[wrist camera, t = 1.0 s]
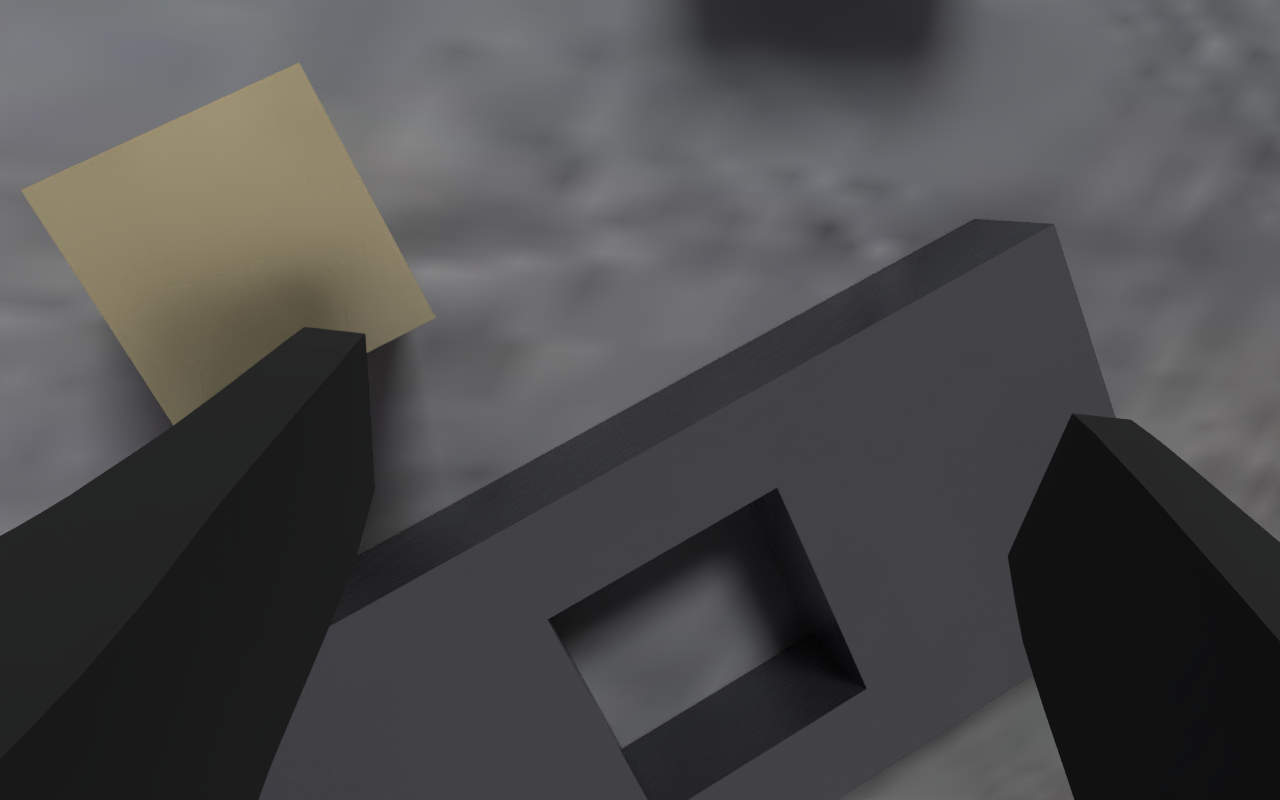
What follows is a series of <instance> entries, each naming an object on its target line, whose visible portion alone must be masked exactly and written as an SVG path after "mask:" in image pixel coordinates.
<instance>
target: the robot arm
mask: <svg viewBox="0 0 1280 800" xmlns="http://www.w3.org/2000/svg"><path fill="white" fill-rule="evenodd" d="M374 488H375V486H374V469H373V452H372V435H371V418H370V402H369V385H368V368H367V351H366V334H365V333H356V332H347V331H338V330H329V329H320V328H311V327H304V328H302V329H301V330H299V331H298V332H297V333H295V334H294V335H292V336H291V337H290V338H288V339H287V340H286V341H284V342H283V343H282V344H281V345H279V346H278V347H277V348H275V349H274V350H273V351H271V352H270V353H269V354H267V355H266V356H265V357H263V358H262V359H261V360H260V361H258V362H257V363H256V364H254V365H253V366H252V367H250V368H249V369H248V370H247V371H245V372H244V373H243V374H241V375H240V376H239V377H237V378H236V379H235V380H234V381H232V382H231V383H230V384H228V385H227V386H226V387H224V388H223V389H222V390H220V391H219V392H218V393H217V394H215V395H214V396H213V397H211V398H210V399H209V400H207V401H206V402H205V403H203V404H202V405H201V406H199V407H198V408H196V409H195V410H194V411H192V412H191V413H190V414H188V415H187V416H186V417H184V418H183V419H181V420H180V421H179V422H177V423H176V424H175V425H173V426H172V427H171V428H169V429H168V430H166V431H165V432H164V433H162V434H161V435H160V436H158V437H157V438H155V439H154V440H152V441H151V442H149V443H148V444H146V445H145V446H143V447H142V448H140V449H139V450H137V451H136V452H134V453H133V454H131V455H130V456H128V457H127V458H125V459H124V460H122V461H121V462H119V463H118V464H116V465H115V466H113V467H112V468H110V469H109V470H107V471H106V472H104V473H103V474H101V475H100V476H98V477H97V478H95V479H94V480H92V481H91V482H89V483H88V484H86V485H85V486H83V487H82V488H80V489H79V490H77V491H76V492H74V493H73V494H71V495H70V496H68V497H66V498H65V499H63V500H61V501H60V502H58V503H56V504H55V505H53V506H52V507H50V508H48V509H47V510H45V511H43V512H42V513H40V514H38V515H36V516H35V517H33V518H31V519H30V520H28V521H26V522H24V523H23V524H21V525H19V526H18V527H16V528H14V529H12V530H10V531H9V532H7V533H5V534H3V535H1V536H0V800H259V797H260V794H261V792H262V789H263V786H264V783H265V781H266V778H267V775H268V773H269V770H270V767H271V765H272V762H273V759H274V757H275V755H276V752H277V750H278V748H279V745H280V743H281V740H282V738H283V736H284V733H285V731H286V729H287V726H288V724H289V721H290V719H291V717H292V714H293V712H294V710H295V707H296V705H297V702H298V700H299V698H300V695H301V693H302V691H303V688H304V686H305V683H306V681H307V679H308V676H309V674H310V672H311V669H312V667H313V664H314V662H315V660H316V657H317V655H318V653H319V650H320V648H321V645H322V643H323V641H324V638H325V636H326V633H327V631H328V629H329V626H330V624H331V621H332V619H333V617H334V614H335V612H336V609H337V607H338V604H339V602H340V600H341V597H342V595H343V592H344V590H345V587H346V585H347V582H348V580H349V577H350V575H351V572H352V569H353V566H354V562H355V558H356V555H357V551H358V548H359V544H360V541H361V537H362V534H363V530H364V526H365V522H366V518H367V515H368V511H369V507H370V503H371V499H372V495H373V492H374ZM1008 561H1009V568H1010V574H1011V580H1012V587H1013V593H1014V599H1015V605H1016V610H1017V615H1018V620H1019V625H1020V631H1021V636H1022V641H1023V645H1024V648H1025V651H1026V654H1027V658H1028V661H1029V664H1030V667H1031V670H1032V673H1033V676H1034V680H1035V683H1036V686H1037V689H1038V692H1039V695H1040V698H1041V701H1042V704H1043V707H1044V710H1045V713H1046V716H1047V719H1048V722H1049V725H1050V728H1051V731H1052V734H1053V737H1054V740H1055V743H1056V746H1057V749H1058V752H1059V755H1060V758H1061V761H1062V764H1063V767H1064V770H1065V773H1066V776H1067V779H1068V782H1069V785H1070V788H1071V791H1072V794H1073V797H1074V800H1280V542H1279V541H1278V540H1276V539H1275V538H1274V537H1273V536H1272V535H1270V534H1269V533H1268V532H1267V531H1266V530H1265V529H1263V528H1262V527H1261V526H1260V525H1259V524H1257V523H1256V522H1255V521H1254V520H1253V519H1252V518H1250V517H1249V516H1248V515H1247V514H1246V513H1244V512H1243V511H1242V510H1241V509H1240V508H1239V507H1237V506H1236V505H1235V504H1234V503H1233V502H1232V501H1230V500H1229V499H1228V498H1227V497H1226V496H1225V495H1223V494H1222V493H1221V492H1220V491H1219V490H1218V489H1216V488H1215V487H1214V486H1213V485H1212V484H1211V483H1209V482H1208V481H1207V480H1206V479H1205V478H1203V477H1202V476H1201V475H1200V474H1199V473H1198V472H1196V471H1195V470H1194V469H1193V468H1192V467H1190V466H1189V465H1188V464H1187V463H1186V462H1184V461H1183V460H1182V459H1181V458H1180V457H1178V456H1177V455H1176V454H1175V453H1174V452H1172V451H1171V450H1170V449H1169V448H1167V447H1166V446H1165V445H1164V444H1163V443H1161V442H1160V441H1159V440H1157V439H1156V438H1155V437H1154V436H1152V435H1151V434H1150V433H1148V432H1147V431H1146V430H1144V429H1143V428H1141V427H1140V426H1139V425H1137V424H1136V423H1135V422H1133V421H1132V420H1128V419H1119V418H1110V417H1101V416H1093V415H1084V414H1075V413H1072V414H1071V417H1070V419H1069V421H1068V423H1067V426H1066V428H1065V430H1064V432H1063V434H1062V437H1061V439H1060V441H1059V443H1058V445H1057V448H1056V450H1055V452H1054V454H1053V456H1052V459H1051V461H1050V463H1049V465H1048V467H1047V470H1046V472H1045V474H1044V476H1043V479H1042V481H1041V483H1040V485H1039V487H1038V490H1037V492H1036V494H1035V496H1034V498H1033V501H1032V503H1031V505H1030V507H1029V509H1028V512H1027V514H1026V516H1025V518H1024V520H1023V523H1022V525H1021V527H1020V529H1019V532H1018V534H1017V536H1016V538H1015V540H1014V543H1013V545H1012V547H1011V549H1010V551H1009V554H1008Z"/></svg>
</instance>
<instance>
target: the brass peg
mask: <svg viewBox="0 0 1280 800" xmlns="http://www.w3.org/2000/svg"><path fill="white" fill-rule="evenodd" d="M21 191H22V193H23V194H24V196H25V197H26V199H27V200H28V202H29V203H30V205H31V206H32V208H33V210H34V211H35V213H36V214H37V216H38V217H39V219H40V220H41V222H42V223H43V225H44V227H45V228H46V230H47V231H48V233H49V234H50V236H51V237H52V239H53V240H54V242H55V243H56V245H57V247H58V248H59V250H60V251H61V253H62V254H63V256H64V257H65V259H66V260H67V262H68V264H69V265H70V267H71V268H72V270H73V271H74V273H75V274H76V276H77V277H78V279H79V281H80V282H81V284H82V285H83V287H84V288H85V290H86V291H87V293H88V294H89V296H90V298H91V299H92V301H93V302H94V304H95V305H96V307H97V308H98V310H99V311H100V313H101V315H102V316H103V318H104V319H105V321H106V322H107V324H108V325H109V327H110V328H111V330H112V331H113V333H114V335H115V336H116V338H117V339H118V341H119V342H120V344H121V345H122V347H123V348H124V350H125V352H126V353H127V355H128V356H129V358H130V359H131V361H132V362H133V364H134V365H135V367H136V369H137V370H138V372H139V373H140V375H141V376H142V378H143V379H144V381H145V382H146V384H147V386H148V387H149V389H150V390H151V392H152V393H153V395H154V396H155V398H156V399H157V401H158V403H159V404H160V406H161V407H162V409H163V410H164V412H165V413H166V415H167V416H168V418H169V419H170V421H171V423H172V424H173V425H175V424H176V423H177V422H179V421H180V420H181V419H183V418H184V417H186V416H187V415H188V414H190V413H191V412H192V411H194V410H195V409H196V408H198V407H199V406H201V405H202V404H203V403H205V402H206V401H207V400H209V399H210V398H211V397H213V396H214V395H215V394H217V393H218V392H219V391H220V390H222V389H223V388H224V387H226V386H227V385H228V384H230V383H231V382H232V381H234V380H235V379H236V378H237V377H239V376H240V375H241V374H243V373H244V372H245V371H247V370H248V369H249V368H250V367H252V366H253V365H254V364H256V363H257V362H258V361H260V360H261V359H262V358H263V357H265V356H266V355H267V354H269V353H270V352H271V351H273V350H274V349H275V348H277V347H278V346H279V345H281V344H282V343H283V342H284V341H286V340H287V339H288V338H290V337H291V336H292V335H294V334H295V333H297V332H298V331H299V330H301V329H302V328H304V327H311V328H320V329H329V330H338V331H347V332H356V333H365V334H366V351H367V353H368V352H370V351H372V350H374V349H376V348H378V347H380V346H382V345H384V344H386V343H388V342H390V341H392V340H393V339H395V338H397V337H399V336H401V335H403V334H405V333H407V332H409V331H411V330H413V329H415V328H417V327H419V326H421V325H423V324H425V323H427V322H429V321H431V320H432V319H434V318H436V317H435V315H434V314H433V312H432V310H431V308H430V306H429V304H428V302H427V301H426V299H425V297H424V295H423V293H422V291H421V289H420V287H419V286H418V284H417V282H416V280H415V278H414V276H413V274H412V273H411V271H410V269H409V267H408V265H407V263H406V261H405V259H404V258H403V256H402V254H401V252H400V250H399V248H398V246H397V245H396V243H395V241H394V239H393V237H392V235H391V233H390V232H389V230H388V228H387V226H386V224H385V222H384V220H383V218H382V217H381V215H380V213H379V211H378V209H377V207H376V205H375V204H374V202H373V200H372V198H371V196H370V194H369V192H368V190H367V189H366V187H365V185H364V183H363V181H362V179H361V177H360V176H359V174H358V172H357V170H356V168H355V166H354V164H353V162H352V161H351V159H350V157H349V155H348V153H347V151H346V149H345V148H344V146H343V144H342V142H341V140H340V138H339V136H338V134H337V133H336V131H335V129H334V127H333V125H332V123H331V121H330V120H329V118H328V116H327V114H326V112H325V110H324V108H323V106H322V105H321V103H320V101H319V99H318V97H317V95H316V93H315V92H314V90H313V88H312V86H311V84H310V82H309V80H308V78H307V77H306V75H305V73H304V71H303V69H302V67H301V65H300V64H299V63H297V64H295V65H293V66H291V67H289V68H286V69H284V70H282V71H280V72H278V73H275V74H273V75H271V76H269V77H267V78H265V79H262V80H260V81H258V82H256V83H254V84H251V85H249V86H247V87H245V88H243V89H241V90H238V91H236V92H234V93H232V94H230V95H227V96H225V97H223V98H221V99H219V100H217V101H214V102H212V103H210V104H208V105H206V106H203V107H201V108H199V109H197V110H195V111H193V112H190V113H188V114H186V115H184V116H182V117H179V118H177V119H175V120H173V121H171V122H169V123H166V124H164V125H162V126H160V127H158V128H155V129H153V130H151V131H149V132H147V133H145V134H142V135H140V136H138V137H136V138H134V139H131V140H129V141H127V142H125V143H123V144H121V145H118V146H116V147H114V148H112V149H110V150H107V151H105V152H103V153H101V154H99V155H97V156H94V157H92V158H90V159H88V160H86V161H83V162H81V163H79V164H77V165H75V166H73V167H70V168H68V169H66V170H64V171H62V172H59V173H57V174H55V175H53V176H51V177H49V178H46V179H44V180H42V181H40V182H38V183H35V184H33V185H31V186H29V187H27V188H25V189H22V190H21Z"/></svg>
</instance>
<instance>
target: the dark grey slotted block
mask: <svg viewBox="0 0 1280 800" xmlns="http://www.w3.org/2000/svg"><path fill="white" fill-rule="evenodd" d="M1072 413H1075V414H1084V415H1093V416H1101V417H1110V418H1115V414H1114V411H1113V408H1112V405H1111V402H1110V399H1109V396H1108V392H1107V389H1106V386H1105V383H1104V380H1103V377H1102V373H1101V370H1100V367H1099V364H1098V361H1097V358H1096V355H1095V351H1094V348H1093V345H1092V342H1091V339H1090V336H1089V332H1088V329H1087V326H1086V323H1085V320H1084V317H1083V314H1082V310H1081V307H1080V304H1079V301H1078V298H1077V295H1076V291H1075V288H1074V285H1073V282H1072V279H1071V276H1070V273H1069V269H1068V266H1067V263H1066V260H1065V257H1064V254H1063V250H1062V247H1061V244H1060V241H1059V238H1058V235H1057V232H1056V228H1055V225H1054V224H1045V223H1029V222H1013V221H997V220H981V219H974V220H972V221H970V222H968V223H967V224H965V225H963V226H961V227H959V228H957V229H956V230H954V231H952V232H950V233H948V234H946V235H945V236H943V237H941V238H939V239H937V240H935V241H934V242H932V243H930V244H928V245H926V246H924V247H923V248H921V249H919V250H917V251H915V252H913V253H912V254H910V255H908V256H906V257H904V258H902V259H901V260H899V261H897V262H895V263H893V264H891V265H890V266H888V267H886V268H884V269H882V270H881V271H879V272H877V273H875V274H873V275H871V276H870V277H868V278H866V279H864V280H862V281H860V282H859V283H857V284H855V285H853V286H851V287H849V288H848V289H846V290H844V291H842V292H840V293H838V294H837V295H835V296H833V297H831V298H829V299H827V300H826V301H824V302H822V303H820V304H818V305H816V306H815V307H813V308H811V309H809V310H807V311H805V312H804V313H802V314H800V315H798V316H796V317H794V318H793V319H791V320H789V321H787V322H785V323H783V324H782V325H780V326H778V327H776V328H774V329H772V330H771V331H769V332H767V333H765V334H763V335H761V336H760V337H758V338H756V339H754V340H752V341H750V342H749V343H747V344H745V345H743V346H741V347H739V348H738V349H736V350H734V351H732V352H730V353H728V354H727V355H725V356H723V357H721V358H719V359H717V360H716V361H714V362H712V363H710V364H708V365H707V366H705V367H703V368H701V369H699V370H697V371H696V372H694V373H692V374H690V375H688V376H686V377H685V378H683V379H681V380H679V381H677V382H675V383H674V384H672V385H670V386H668V387H666V388H664V389H663V390H661V391H659V392H657V393H655V394H653V395H652V396H650V397H648V398H646V399H644V400H642V401H641V402H639V403H637V404H635V405H633V406H631V407H630V408H628V409H626V410H624V411H622V412H620V413H619V414H617V415H615V416H613V417H611V418H609V419H608V420H606V421H604V422H602V423H600V424H598V425H597V426H595V427H593V428H591V429H589V430H587V431H586V432H584V433H582V434H580V435H578V436H576V437H575V438H573V439H571V440H569V441H567V442H565V443H564V444H562V445H560V446H558V447H556V448H554V449H553V450H551V451H549V452H547V453H545V454H543V455H542V456H540V457H538V458H536V459H534V460H533V461H531V462H529V463H527V464H525V465H523V466H522V467H520V468H518V469H516V470H514V471H512V472H511V473H509V474H507V475H505V476H503V477H501V478H500V479H498V480H496V481H494V482H492V483H490V484H489V485H487V486H485V487H483V488H481V489H479V490H478V491H476V492H474V493H472V494H470V495H468V496H467V497H465V498H463V499H461V500H459V501H457V502H456V503H454V504H452V505H450V506H448V507H446V508H445V509H443V510H441V511H439V512H437V513H435V514H434V515H432V516H430V517H428V518H426V519H424V520H423V521H421V522H419V523H417V524H415V525H413V526H412V527H410V528H408V529H406V530H404V531H402V532H401V533H399V534H397V535H395V536H393V537H391V538H390V539H388V540H386V541H384V542H382V543H380V544H379V545H377V546H375V547H373V548H371V549H370V550H368V551H366V552H364V553H362V554H360V555H359V556H357V557H356V558H355V562H354V566H353V569H352V572H351V575H350V577H349V580H348V582H347V585H346V587H345V590H344V592H343V595H342V597H341V600H340V602H339V604H338V607H337V609H336V612H335V614H334V617H333V619H332V621H331V624H330V626H329V629H328V631H327V633H326V636H325V638H324V641H323V643H322V645H321V648H320V650H319V653H318V655H317V657H316V660H315V662H314V664H313V667H312V669H311V672H310V674H309V676H308V679H307V681H306V683H305V686H304V688H303V691H302V693H301V695H300V698H299V700H298V702H297V705H296V707H295V710H294V712H293V714H292V717H291V719H290V721H289V724H288V726H287V729H286V731H285V733H284V736H283V738H282V740H281V743H280V745H279V748H278V750H277V752H276V755H275V757H274V759H273V762H272V765H271V767H270V770H269V773H268V775H267V778H266V781H265V783H264V786H263V789H262V792H261V794H260V797H259V800H837V799H838V798H840V797H842V796H843V795H845V794H846V793H848V792H849V791H851V790H853V789H854V788H856V787H857V786H859V785H860V784H862V783H864V782H865V781H867V780H868V779H870V778H871V777H873V776H874V775H876V774H878V773H879V772H881V771H882V770H884V769H885V768H887V767H889V766H890V765H892V764H893V763H895V762H896V761H898V760H900V759H901V758H903V757H904V756H906V755H907V754H909V753H911V752H912V751H914V750H915V749H917V748H918V747H920V746H921V745H923V744H925V743H926V742H928V741H929V740H931V739H932V738H934V737H936V736H937V735H939V734H940V733H942V732H943V731H945V730H947V729H948V728H950V727H951V726H953V725H954V724H956V723H957V722H959V721H961V720H962V719H964V718H965V717H967V716H968V715H970V714H972V713H973V712H975V711H976V710H978V709H979V708H981V707H983V706H984V705H986V704H987V703H989V702H990V701H992V700H994V699H995V698H997V697H998V696H1000V695H1001V694H1003V693H1004V692H1006V691H1008V690H1009V689H1011V688H1012V687H1014V686H1015V685H1017V684H1019V683H1020V682H1022V681H1023V680H1025V679H1026V678H1028V677H1030V676H1031V675H1033V673H1032V670H1031V667H1030V664H1029V661H1028V658H1027V654H1026V651H1025V648H1024V645H1023V641H1022V636H1021V631H1020V625H1019V620H1018V615H1017V610H1016V605H1015V599H1014V593H1013V587H1012V580H1011V574H1010V568H1009V561H1008V554H1009V551H1010V549H1011V547H1012V545H1013V543H1014V540H1015V538H1016V536H1017V534H1018V532H1019V529H1020V527H1021V525H1022V523H1023V520H1024V518H1025V516H1026V514H1027V512H1028V509H1029V507H1030V505H1031V503H1032V501H1033V498H1034V496H1035V494H1036V492H1037V490H1038V487H1039V485H1040V483H1041V481H1042V479H1043V476H1044V474H1045V472H1046V470H1047V467H1048V465H1049V463H1050V461H1051V459H1052V456H1053V454H1054V452H1055V450H1056V448H1057V445H1058V443H1059V441H1060V439H1061V437H1062V434H1063V432H1064V430H1065V428H1066V426H1067V423H1068V421H1069V419H1070V417H1071V414H1072ZM749 503H750V504H751V507H752V509H753V511H754V513H755V515H756V517H757V520H758V522H759V524H760V526H761V528H762V531H763V533H764V535H765V537H766V539H767V541H768V544H769V546H770V548H771V550H772V552H773V554H774V557H775V559H776V561H777V563H778V565H779V568H780V570H781V572H782V574H783V576H784V578H785V581H786V583H787V585H788V587H789V589H790V592H791V594H792V596H793V598H794V600H795V602H796V605H797V607H798V609H799V611H800V613H801V616H802V618H803V620H804V622H805V624H806V626H807V629H808V631H809V633H810V636H808V637H806V638H805V639H803V640H801V641H800V642H798V643H796V644H795V645H793V646H791V647H790V648H788V649H786V650H785V651H783V652H781V653H780V654H778V655H776V656H775V657H773V658H772V659H770V660H768V661H767V662H765V663H763V664H762V665H760V666H758V667H757V668H755V669H753V670H752V671H750V672H748V673H747V674H745V675H743V676H742V677H740V678H739V679H737V680H735V681H734V682H732V683H730V684H729V685H727V686H725V687H724V688H722V689H720V690H719V691H717V692H715V693H714V694H712V695H710V696H709V697H707V698H705V699H704V700H702V701H701V702H699V703H697V704H696V705H694V706H692V707H691V708H689V709H687V710H686V711H684V712H682V713H681V714H679V715H677V716H676V717H674V718H672V719H671V720H669V721H667V722H666V723H664V724H663V725H661V726H659V727H658V728H656V729H654V730H653V731H651V732H649V733H648V734H646V735H644V736H643V737H641V738H639V739H638V740H636V741H634V742H633V743H631V744H630V745H628V746H626V747H625V748H623V749H622V748H621V746H620V744H619V742H618V740H617V739H616V737H615V735H614V733H613V731H612V730H611V728H610V726H609V724H608V722H607V720H606V719H605V717H604V715H603V713H602V711H601V710H600V708H599V706H598V704H597V702H596V701H595V699H594V697H593V695H592V693H591V692H590V690H589V688H588V686H587V684H586V683H585V681H584V679H583V677H582V675H581V673H580V672H579V670H578V668H577V666H576V664H575V663H574V661H573V659H572V657H571V655H570V654H569V652H568V650H567V648H566V646H565V645H564V643H563V641H562V639H561V637H560V636H559V634H558V632H557V630H556V628H555V626H554V625H553V623H552V621H551V619H550V618H551V617H553V616H555V615H556V614H558V613H560V612H562V611H563V610H565V609H567V608H568V607H570V606H572V605H574V604H575V603H577V602H579V601H581V600H582V599H584V598H586V597H588V596H589V595H591V594H593V593H595V592H596V591H598V590H600V589H602V588H603V587H605V586H607V585H608V584H610V583H612V582H614V581H615V580H617V579H619V578H621V577H622V576H624V575H626V574H628V573H629V572H631V571H633V570H635V569H636V568H638V567H640V566H642V565H643V564H645V563H647V562H648V561H650V560H652V559H654V558H655V557H657V556H659V555H661V554H662V553H664V552H666V551H668V550H669V549H671V548H673V547H675V546H676V545H678V544H680V543H682V542H683V541H685V540H687V539H688V538H690V537H692V536H694V535H695V534H697V533H699V532H701V531H702V530H704V529H706V528H708V527H709V526H711V525H713V524H715V523H716V522H718V521H720V520H722V519H723V518H725V517H727V516H728V515H730V514H732V513H734V512H735V511H737V510H739V509H741V508H742V507H744V506H746V505H748V504H749Z"/></svg>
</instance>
